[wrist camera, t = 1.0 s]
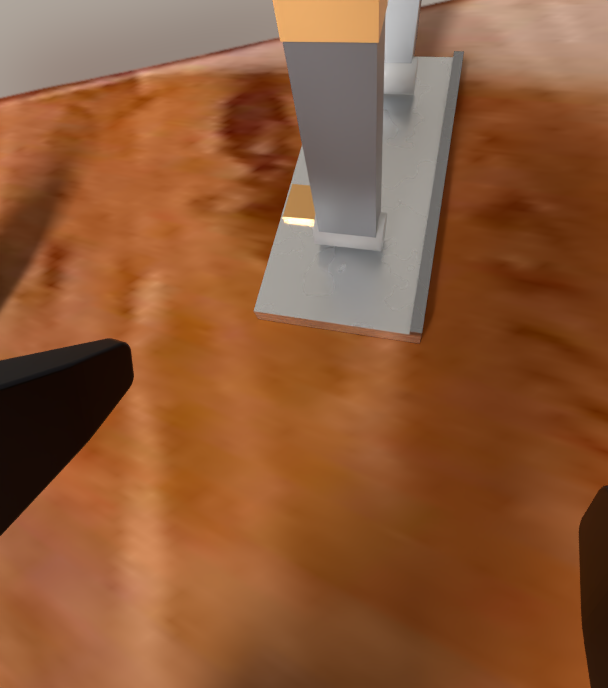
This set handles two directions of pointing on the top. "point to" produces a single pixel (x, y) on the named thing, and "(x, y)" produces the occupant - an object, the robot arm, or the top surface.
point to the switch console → (400, 236)
